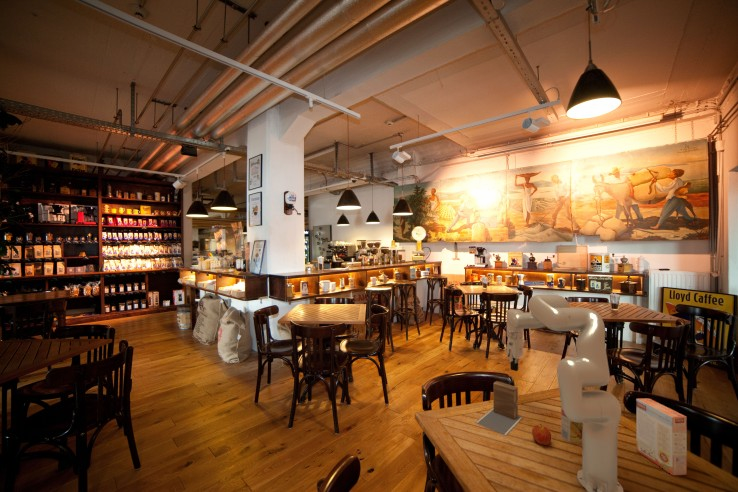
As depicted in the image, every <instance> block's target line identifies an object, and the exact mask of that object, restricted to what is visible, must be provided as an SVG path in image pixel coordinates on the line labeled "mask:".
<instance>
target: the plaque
mask: <svg viewBox="0 0 738 492" xmlns="http://www.w3.org/2000/svg"><path fill="white" fill-rule="evenodd" d="M518 389H519V387H517V386H514V385H511V384H508V383H505V382H501V381H498V380H496V381H494V382H493V407H494V412H495V413H498V414H500V415H503V416H506V417H508V418H511V419H513V420H515V419H516V418H517V417H518V416H519V415H518V414H519V408H518V404H519V403H518V397H519V396H518V395H519V394H518V393H519V391H518Z"/></svg>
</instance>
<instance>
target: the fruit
mask: <svg viewBox="0 0 738 492" xmlns="http://www.w3.org/2000/svg"><path fill="white" fill-rule="evenodd" d="M531 433H532V434H531V435H532V437H533V439H534V441H536V443H538V444H539V445H542V446H546V445H549V444H550V442H552V433H551V431H550V429H549V428H548V426H546V425H542V423H540V424H536V425H534V426H533V427H532V429H531Z"/></svg>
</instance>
